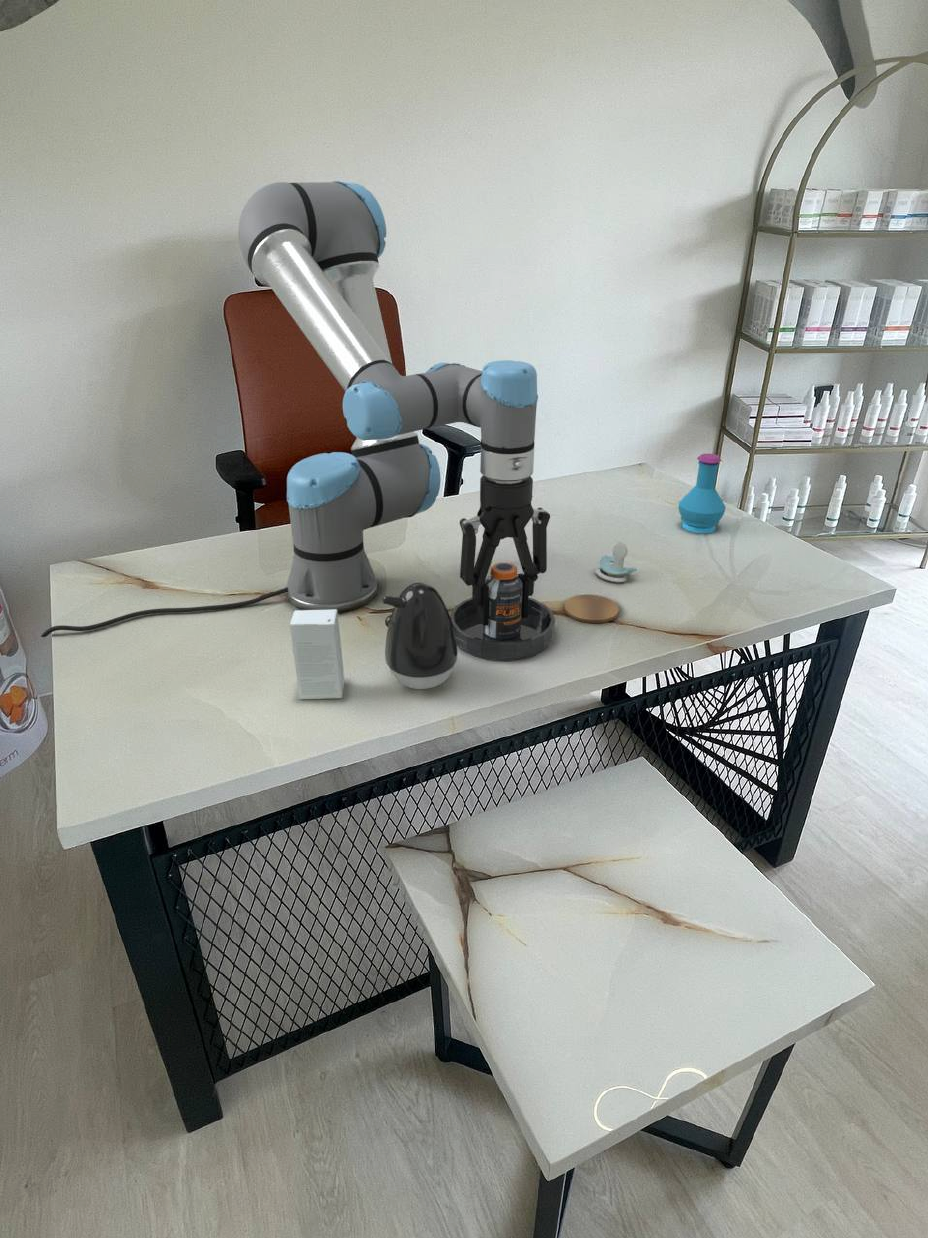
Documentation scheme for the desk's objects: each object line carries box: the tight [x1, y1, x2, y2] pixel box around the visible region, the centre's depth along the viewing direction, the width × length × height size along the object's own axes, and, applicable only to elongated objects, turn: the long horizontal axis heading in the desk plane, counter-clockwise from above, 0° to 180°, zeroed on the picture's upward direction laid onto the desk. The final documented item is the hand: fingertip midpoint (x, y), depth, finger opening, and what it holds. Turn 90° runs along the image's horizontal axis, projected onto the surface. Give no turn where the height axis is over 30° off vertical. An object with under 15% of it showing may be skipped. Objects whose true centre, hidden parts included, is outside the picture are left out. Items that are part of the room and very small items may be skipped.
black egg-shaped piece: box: [381, 582, 458, 690], centre depth 112 cm, size 10×10×15 cm
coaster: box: [563, 594, 620, 624], centre depth 134 cm, size 9×9×1 cm
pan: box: [449, 597, 556, 662], centre depth 126 cm, size 16×16×3 cm
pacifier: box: [594, 541, 638, 583], centre depth 143 cm, size 7×6×6 cm
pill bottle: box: [483, 561, 523, 639], centre depth 124 cm, size 6×6×11 cm
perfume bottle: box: [678, 453, 726, 534], centre depth 161 cm, size 9×9×15 cm
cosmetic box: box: [289, 609, 345, 700], centre depth 110 cm, size 6×4×12 cm
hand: (502, 617), depth 125 cm, fingers closed on pill bottle, 6 cm apart
